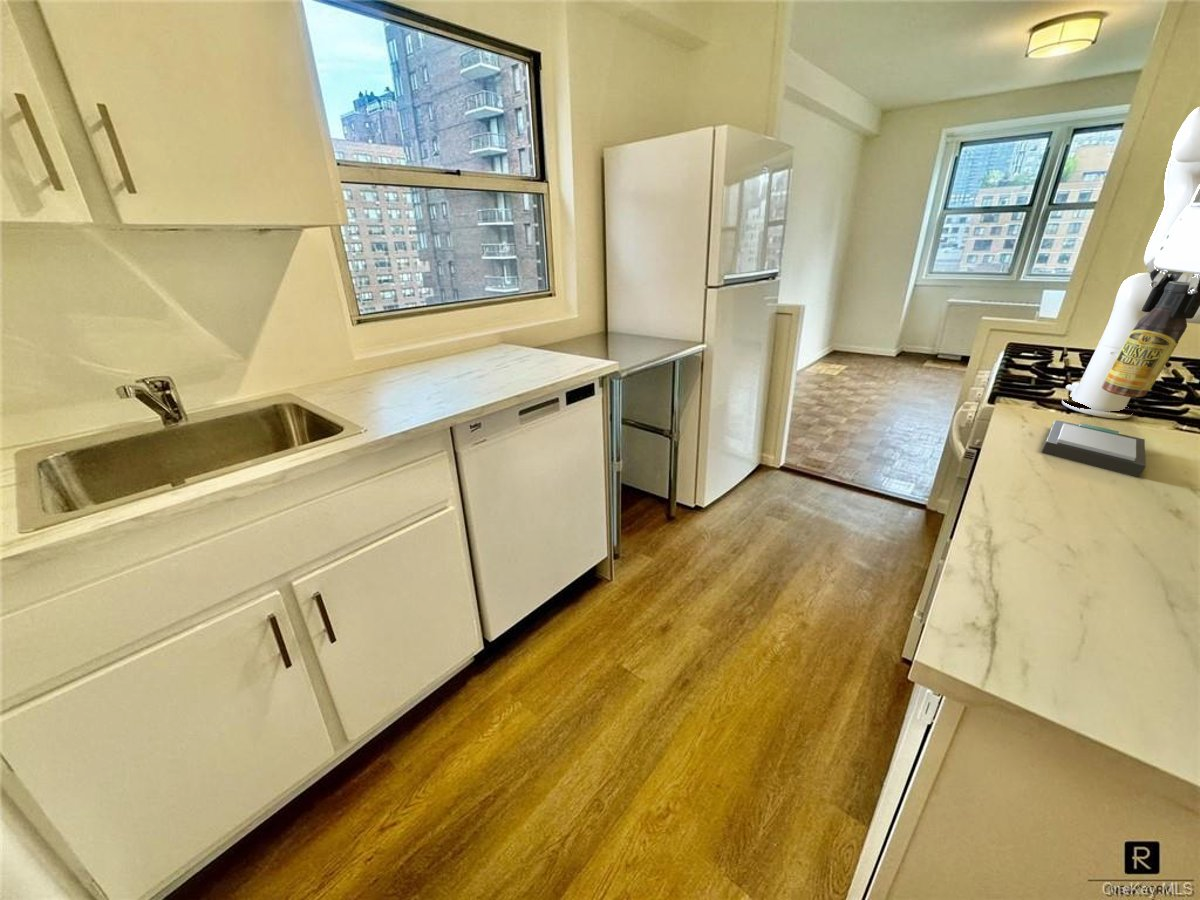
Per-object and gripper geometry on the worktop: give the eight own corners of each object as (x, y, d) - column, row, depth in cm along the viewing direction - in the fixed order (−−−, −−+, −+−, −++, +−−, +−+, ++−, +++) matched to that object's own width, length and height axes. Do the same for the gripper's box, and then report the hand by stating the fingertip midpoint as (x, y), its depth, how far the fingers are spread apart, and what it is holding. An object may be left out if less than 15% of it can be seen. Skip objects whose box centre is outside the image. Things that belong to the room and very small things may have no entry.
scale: (1050, 429, 107) (1056, 416, 106) (1138, 449, 99) (1146, 435, 97) (1041, 452, 97) (1048, 438, 96) (1138, 477, 88) (1148, 462, 87)
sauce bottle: (1092, 390, 92) (1146, 280, 83) (1110, 385, 94) (1164, 279, 85) (1137, 401, 87) (1200, 286, 78) (1155, 396, 89) (1218, 283, 80)
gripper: (1323, 195, 67) (1243, 326, 76) (1199, 196, 82) (1143, 305, 91) (1266, 195, 68) (1192, 325, 76) (1152, 196, 83) (1101, 305, 91)
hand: (1166, 313), depth 84 cm, fingers closed on sauce bottle, 4 cm apart
